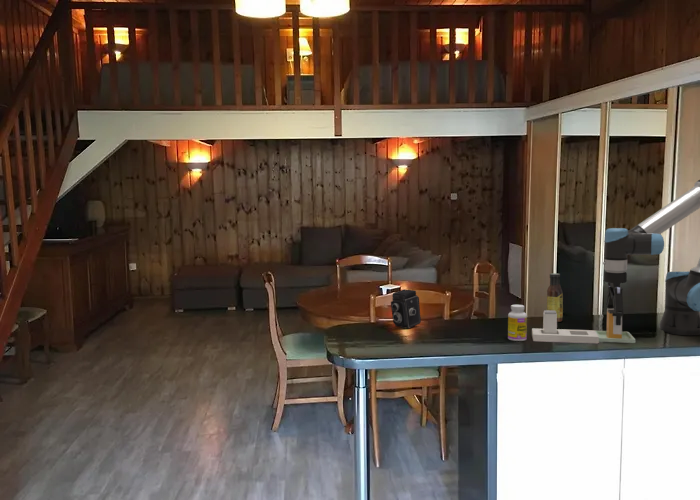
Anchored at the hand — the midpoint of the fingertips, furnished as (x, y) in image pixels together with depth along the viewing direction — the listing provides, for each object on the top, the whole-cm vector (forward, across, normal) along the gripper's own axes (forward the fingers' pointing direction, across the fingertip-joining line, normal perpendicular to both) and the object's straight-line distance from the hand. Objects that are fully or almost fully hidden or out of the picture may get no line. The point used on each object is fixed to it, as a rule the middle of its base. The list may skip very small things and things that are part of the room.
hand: (613, 329), depth 221 cm
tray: (+4, 0, 0) cm, 4 cm away
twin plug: (+3, +4, -22) cm, 23 cm away
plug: (+3, 0, 0) cm, 3 cm away
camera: (+4, -9, -78) cm, 79 cm away
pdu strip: (+4, +4, -17) cm, 18 cm away
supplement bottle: (+4, +6, -34) cm, 35 cm away
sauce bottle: (+4, -30, -18) cm, 35 cm away
